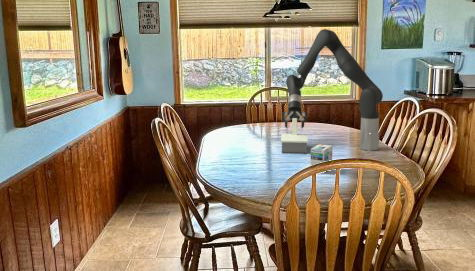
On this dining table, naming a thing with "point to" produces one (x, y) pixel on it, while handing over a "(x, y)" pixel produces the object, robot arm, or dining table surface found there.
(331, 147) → the light bulb box
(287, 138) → the lid
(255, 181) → the dining table surface
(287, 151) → the tub
